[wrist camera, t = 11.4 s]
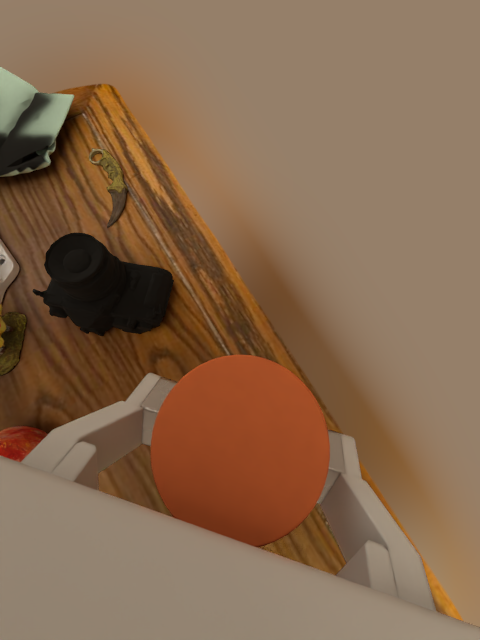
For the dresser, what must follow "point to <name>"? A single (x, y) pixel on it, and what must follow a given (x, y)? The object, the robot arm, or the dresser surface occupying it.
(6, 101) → the cloth
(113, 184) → the knife
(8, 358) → the figurine
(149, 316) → the film camera
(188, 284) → the dresser surface
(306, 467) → the disc
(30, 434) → the pomegranate
